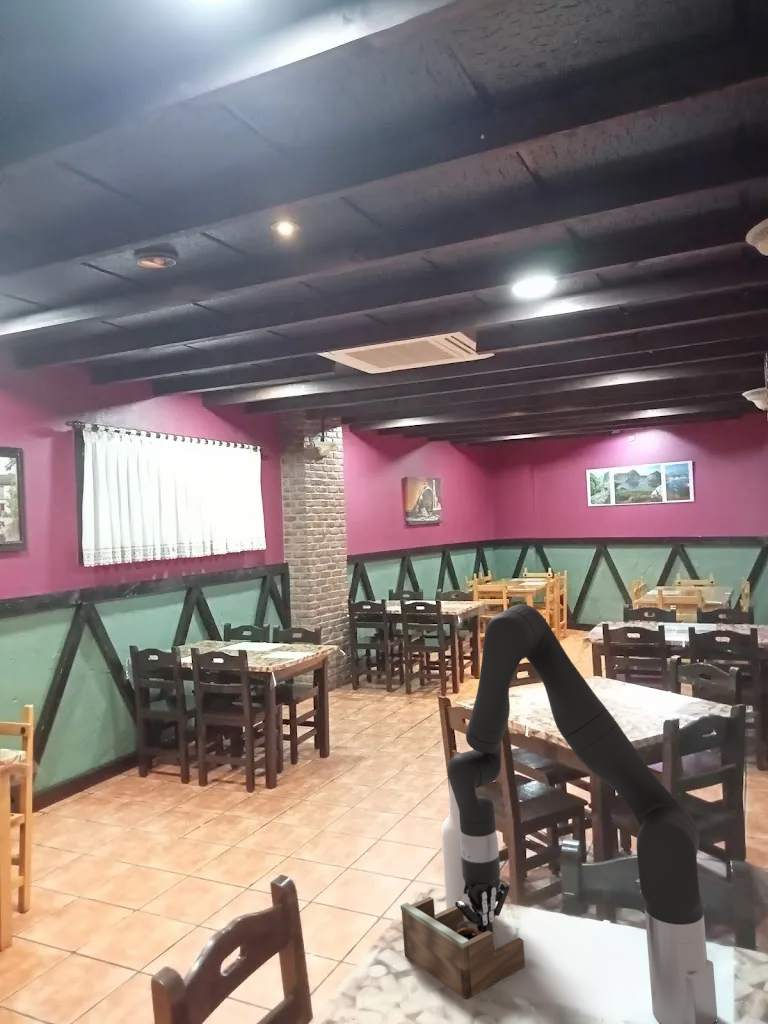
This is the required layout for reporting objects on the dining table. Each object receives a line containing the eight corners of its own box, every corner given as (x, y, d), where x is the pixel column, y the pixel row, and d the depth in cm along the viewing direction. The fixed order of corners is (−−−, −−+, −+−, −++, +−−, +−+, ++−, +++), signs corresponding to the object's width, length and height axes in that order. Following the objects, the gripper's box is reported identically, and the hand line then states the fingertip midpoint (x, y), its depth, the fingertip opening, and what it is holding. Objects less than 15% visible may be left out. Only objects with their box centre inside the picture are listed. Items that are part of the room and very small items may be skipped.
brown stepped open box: (525, 966, 139) (521, 913, 139) (466, 999, 130) (462, 943, 131) (460, 928, 154) (457, 880, 154) (403, 955, 145) (400, 905, 146)
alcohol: (473, 927, 154) (463, 782, 155) (438, 916, 160) (429, 776, 160) (495, 909, 161) (485, 770, 162) (461, 898, 166) (451, 764, 167)
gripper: (467, 869, 140) (473, 962, 139) (516, 848, 147) (523, 936, 147) (441, 856, 146) (448, 945, 145) (490, 837, 153) (496, 921, 153)
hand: (485, 940), depth 146 cm, fingers closed
